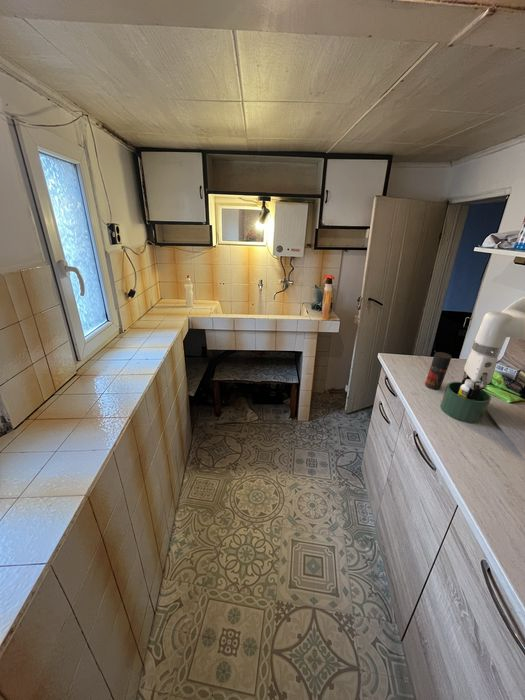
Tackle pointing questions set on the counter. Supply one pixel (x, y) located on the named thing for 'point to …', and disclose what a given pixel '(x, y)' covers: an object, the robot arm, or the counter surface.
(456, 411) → the crock
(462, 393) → the supplement bottle
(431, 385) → the deodorant
